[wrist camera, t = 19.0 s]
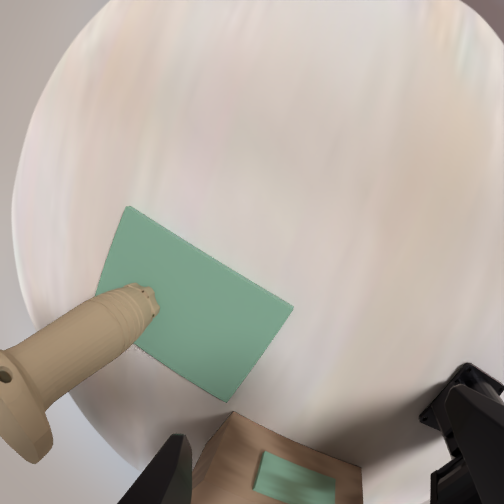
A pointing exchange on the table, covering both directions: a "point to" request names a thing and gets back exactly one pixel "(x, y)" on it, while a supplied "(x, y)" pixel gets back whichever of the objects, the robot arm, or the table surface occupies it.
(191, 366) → the mat
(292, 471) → the cabinet
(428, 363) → the table surface
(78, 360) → the handle
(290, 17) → the table surface
